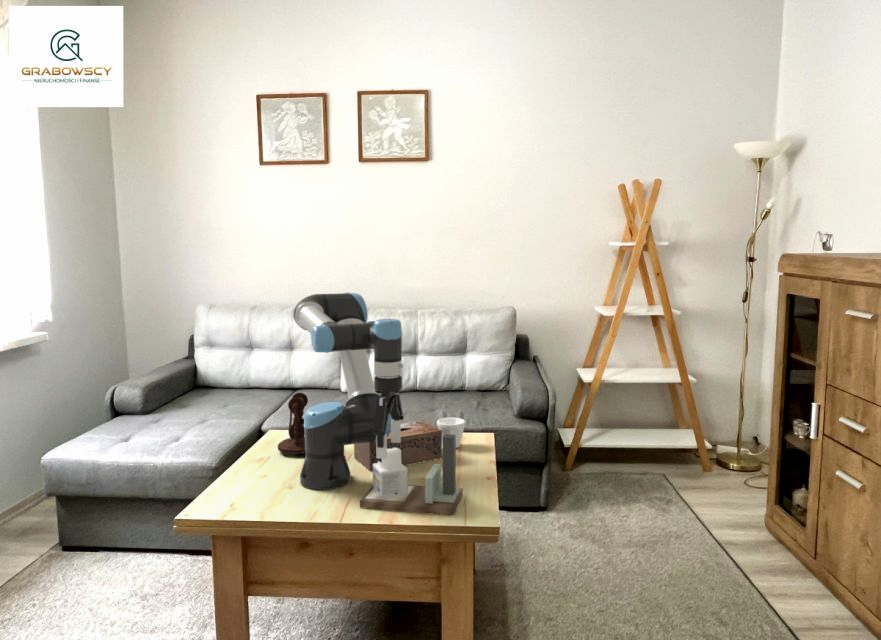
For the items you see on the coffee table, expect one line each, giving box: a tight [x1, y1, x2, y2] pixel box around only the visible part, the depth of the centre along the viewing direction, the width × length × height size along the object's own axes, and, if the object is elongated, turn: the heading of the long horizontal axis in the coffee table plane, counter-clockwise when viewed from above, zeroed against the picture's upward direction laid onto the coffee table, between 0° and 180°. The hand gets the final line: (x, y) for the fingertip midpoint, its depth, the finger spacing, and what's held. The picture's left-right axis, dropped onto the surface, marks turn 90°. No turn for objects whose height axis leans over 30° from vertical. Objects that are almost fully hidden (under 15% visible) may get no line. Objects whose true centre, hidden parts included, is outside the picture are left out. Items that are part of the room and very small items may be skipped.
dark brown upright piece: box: [277, 392, 309, 457], centre depth 220 cm, size 15×15×20 cm
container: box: [372, 445, 409, 499], centre depth 177 cm, size 8×8×13 cm
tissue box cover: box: [353, 419, 443, 472], centre depth 212 cm, size 26×14×10 cm, turn 118°
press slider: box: [424, 434, 460, 504], centre depth 174 cm, size 8×11×17 cm
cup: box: [436, 417, 466, 449], centre depth 225 cm, size 10×10×9 cm
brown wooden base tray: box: [359, 484, 464, 516], centre depth 177 cm, size 26×14×2 cm, turn 78°
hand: (388, 450), depth 177 cm, fingers open, 13 cm apart
